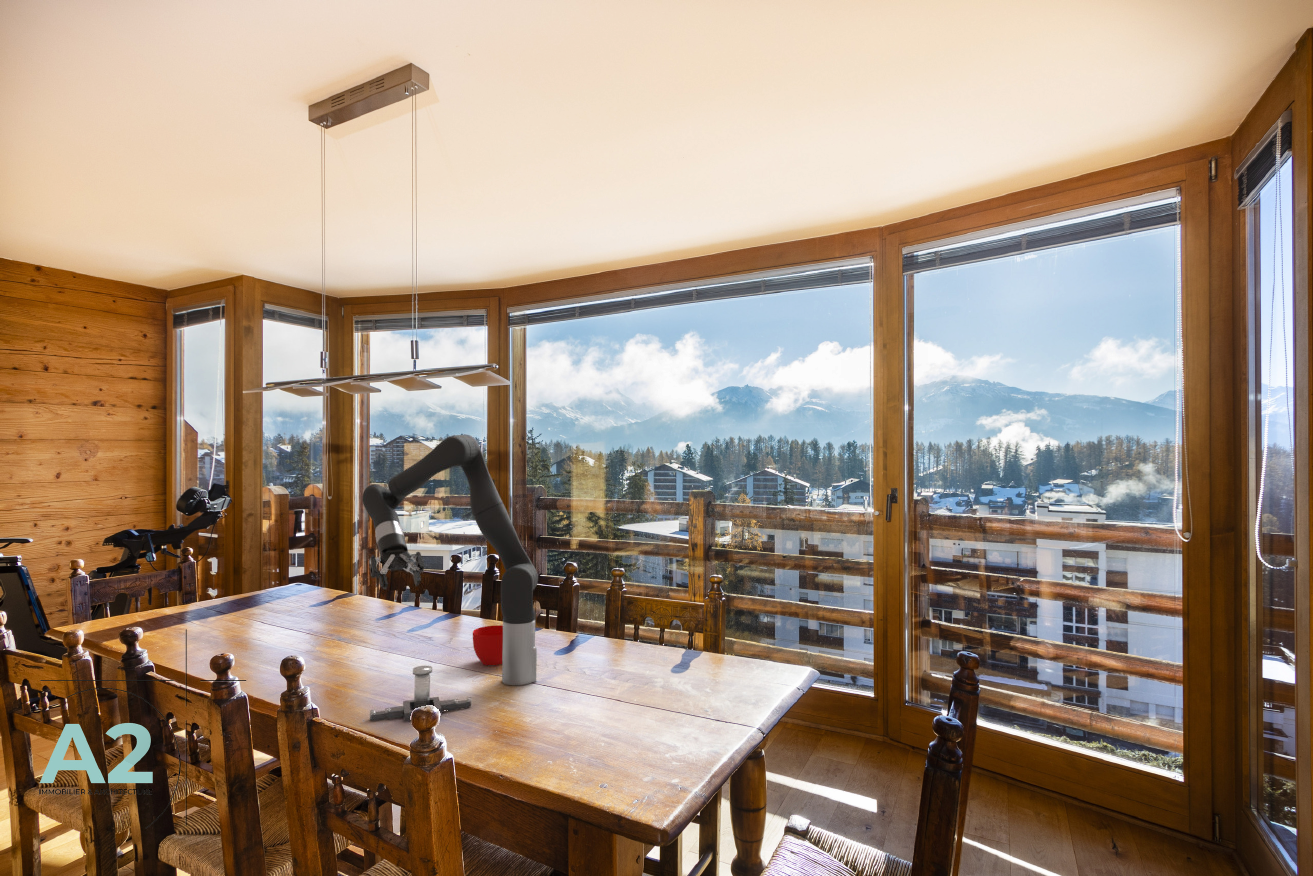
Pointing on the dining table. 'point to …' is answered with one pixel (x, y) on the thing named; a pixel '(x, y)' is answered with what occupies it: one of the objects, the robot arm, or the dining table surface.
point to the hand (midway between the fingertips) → (402, 585)
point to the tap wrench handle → (409, 707)
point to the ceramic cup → (489, 644)
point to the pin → (422, 685)
